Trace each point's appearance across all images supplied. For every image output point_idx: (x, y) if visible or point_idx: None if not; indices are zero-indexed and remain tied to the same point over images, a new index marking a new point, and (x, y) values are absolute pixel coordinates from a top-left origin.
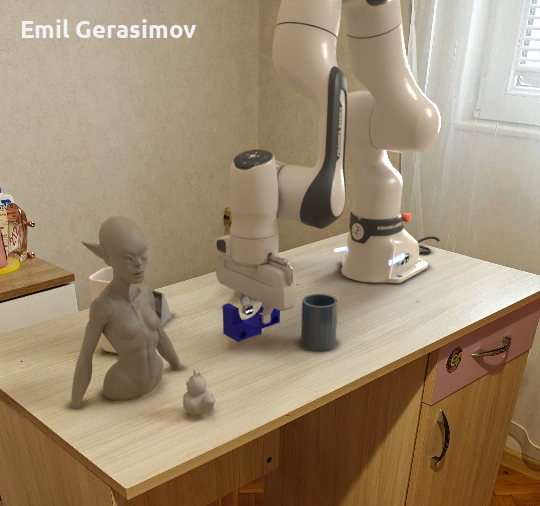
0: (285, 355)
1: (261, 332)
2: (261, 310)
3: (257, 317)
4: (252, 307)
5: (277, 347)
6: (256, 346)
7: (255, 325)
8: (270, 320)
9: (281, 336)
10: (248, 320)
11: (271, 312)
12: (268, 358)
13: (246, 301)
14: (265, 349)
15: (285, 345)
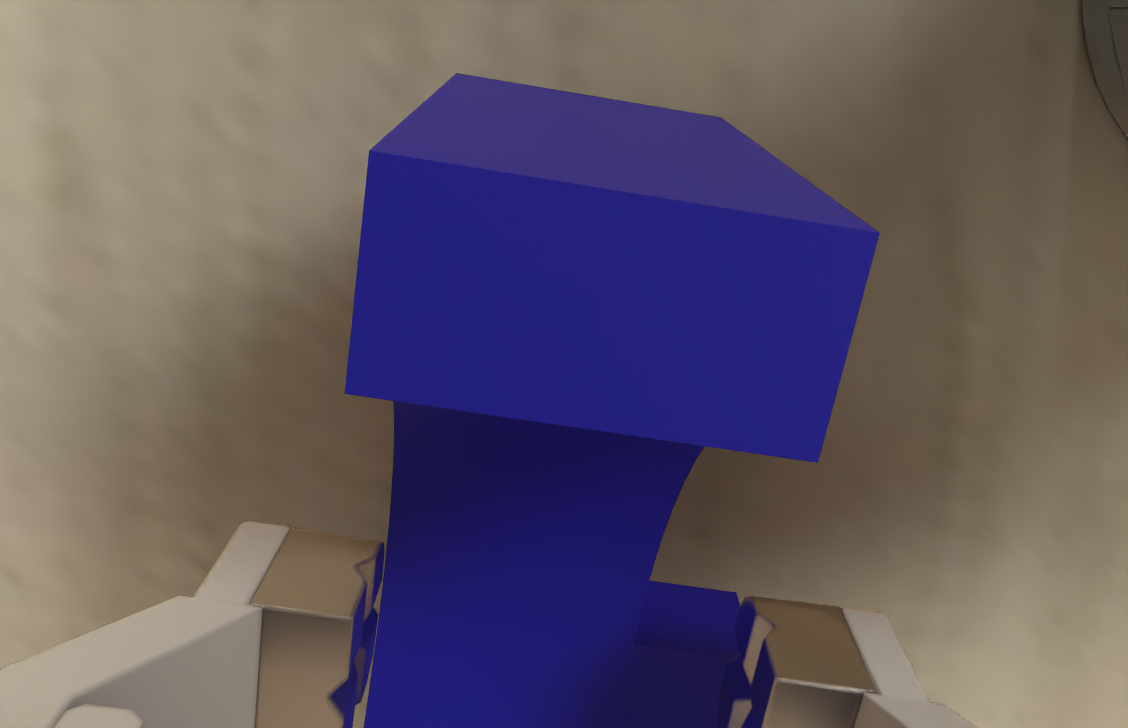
0: (1113, 521)
1: (737, 606)
2: (470, 419)
3: (510, 521)
4: (358, 602)
5: (902, 416)
6: (670, 553)
7: (663, 708)
8: (882, 613)
9: (738, 111)
10: (450, 651)
11: (967, 725)
12: (982, 691)
13: (202, 713)
14: (811, 547)
15: (956, 305)
